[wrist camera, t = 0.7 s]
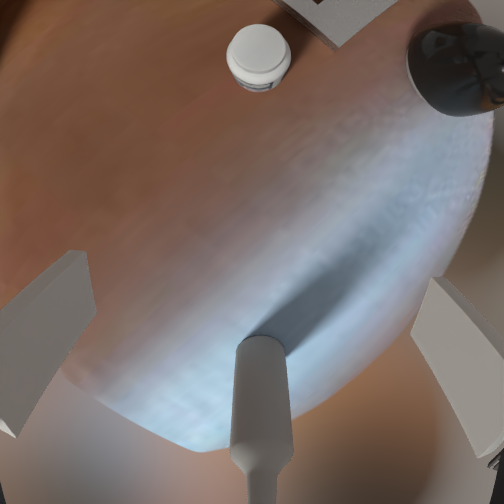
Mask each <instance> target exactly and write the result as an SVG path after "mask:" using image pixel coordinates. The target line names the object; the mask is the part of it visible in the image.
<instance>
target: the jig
mask: <svg viewBox="0 0 504 504" xmlns="http://www.w3.org/2000/svg"><path fill="white" fill-rule="evenodd" d="M272 1H273V2H274V3H276V4H277V5H278V6H280V7H281V8H282V9H284V10H285V11H286V12H288V13H289V14H290V15H291V16H293V17H294V18H295V19H296V20H298V21H299V22H300V23H301V24H303V25H304V26H305V27H306V28H307V29H309V30H310V31H311V32H312V33H313V34H314V35H316V36H317V37H318V38H319V39H320V40H321V41H322V42H323V43H325V44H326V45H327V46H328V47H329V48H330V49H331V50H332V51H333V52H335V51H336V50H337V49H338V48H339V47H341V46H342V45H343V44H344V43H345V42H346V41H348V40H349V39H350V38H351V37H352V36H354V35H355V34H356V33H357V32H359V31H360V30H361V29H362V28H363V27H365V26H366V25H367V24H368V23H370V22H371V21H372V20H373V19H375V18H376V17H377V16H379V15H380V14H381V13H382V12H384V11H385V10H386V9H388V8H389V7H390V6H392V5H393V4H394V3H396V2H397V1H398V0H324V1H322V2H321V3H320V4H318V5H317V4H316V3H315V2H314V1H312V0H272Z"/></svg>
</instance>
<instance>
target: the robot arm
mask: <svg viewBox="0 0 504 504" xmlns="http://www.w3.org/2000/svg"><path fill="white" fill-rule="evenodd" d="M96 314H97V311H96V306H95V301H94V296H93V291H92V286H91V280H90V275H89V269H88V262H87V256H86V251H78V250H69V251H68V252H67V253H65V254H64V255H63V256H62V257H60V258H59V259H58V260H57V261H55V262H54V263H53V264H52V265H51V266H49V267H48V268H47V269H46V270H45V271H43V272H42V273H41V274H40V275H39V276H38V277H36V278H35V279H34V280H33V281H32V282H31V283H30V284H28V285H27V286H26V287H25V288H24V289H23V290H22V291H21V292H20V293H18V294H17V295H16V296H15V297H14V298H13V299H12V300H11V301H10V302H9V303H8V304H7V305H6V306H5V307H3V308H2V309H1V310H0V429H1V430H2V431H4V432H6V433H8V434H10V435H11V436H13V437H15V438H17V437H18V435H19V434H20V432H21V430H22V428H23V426H24V424H25V423H26V421H27V419H28V417H29V416H30V414H31V412H32V411H33V409H34V407H35V406H36V404H37V402H38V400H39V399H40V397H41V396H42V394H43V392H44V391H45V389H46V388H47V386H48V384H49V383H50V381H51V380H52V378H53V376H54V375H55V373H56V372H57V370H58V369H59V367H60V366H61V364H62V363H63V361H64V360H65V358H66V357H67V355H68V354H69V352H70V351H71V349H72V348H73V346H74V345H75V343H76V342H77V340H78V339H79V338H80V336H81V335H82V333H83V332H84V330H85V329H86V328H87V326H88V325H89V323H90V322H91V321H92V319H93V318H94V316H95V315H96ZM410 335H411V336H412V338H413V340H414V341H415V342H416V344H417V346H418V348H419V349H420V351H421V353H422V354H423V356H424V357H425V359H426V361H427V363H428V365H429V366H430V368H431V370H432V371H433V373H434V375H435V377H436V378H437V380H438V382H439V384H440V386H441V387H442V389H443V391H444V393H445V395H446V397H447V398H448V400H449V402H450V404H451V406H452V408H453V410H454V411H455V413H456V415H457V417H458V419H459V421H460V423H461V425H462V427H463V429H464V431H465V433H466V435H467V437H468V440H469V442H470V444H471V446H472V448H473V450H474V452H475V454H476V457H477V458H480V457H482V456H484V455H487V454H489V453H491V452H493V451H494V450H495V449H496V448H497V447H498V446H499V445H500V443H502V442H503V440H504V340H503V338H502V337H501V336H500V335H499V334H498V332H497V331H495V329H494V328H493V327H492V326H491V324H490V323H489V322H488V321H487V320H486V319H485V318H484V317H483V316H482V315H481V314H480V313H479V311H478V310H477V309H476V308H475V307H474V306H473V305H472V304H471V303H470V302H469V301H468V300H467V299H466V298H465V297H464V296H463V295H462V294H461V293H460V292H459V291H458V290H457V289H456V288H455V287H454V286H453V285H452V284H451V283H450V282H449V281H448V280H447V279H446V278H442V277H431V279H430V282H429V285H428V288H427V291H426V294H425V296H424V299H423V302H422V305H421V307H420V310H419V313H418V315H417V318H416V320H415V323H414V326H413V328H412V330H411V333H410ZM497 460H500V461H499V463H497V464H496V465H495V466H494V468H493V469H494V470H497V476H496V480H495V485H494V489H493V493H492V497H491V501H490V504H504V448H503V449H502V451H501V452H499V454H498V455H496V456H495V458H493V459H492V460H491V461H490V462H489V464H488V468H490V467H491V466H492V465H493V464H494V463H495V462H496V461H497ZM0 504H6V502H5V499H4V495H3V491H2V487H1V483H0Z"/></svg>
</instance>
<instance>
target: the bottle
mask: <svg viewBox="0 0 504 504" xmlns="http://www.w3.org/2000/svg"><path fill="white" fill-rule="evenodd" d="M293 451H294V448H293V436H292V424H291V411H290V400H289V389H288V378H287V367H286V359H285V350H284V347H283V345H282V344H281V343H280V342H279V341H278V340H277V339H275V338H273V337H270V336H264V335H257V336H252V337H249V338H247V339H245V340H243V341H242V342H241V343H240V344H239V345H238V347H237V350H236V360H235V372H234V387H233V403H232V419H231V435H230V456H231V458H232V460H233V462H234V463H235V464H236V465H237V466H238V467H239V468H240V469H241V470H242V471H243V472H244V474H245V475H246V478H247V495H248V496H247V497H248V504H276V493H277V476H278V474H279V472H280V471H281V470H282V469H283V468H284V467H285V466H286V465H287V464H288V462H289V461H290V460H291V458H292V456H293Z"/></svg>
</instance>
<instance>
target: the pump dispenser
mask: <svg viewBox="0 0 504 504" xmlns="http://www.w3.org/2000/svg"><path fill="white" fill-rule="evenodd" d="M406 70H407V74H408V77H409V80H410V82H411V84H412V86H413V88H414V89H415V91H416V92H417V93H418V95H419V96H420V97H421V98H422V99H423V100H424V101H425V102H427V103H428V104H429V105H431V106H432V107H433V108H434V109H436V110H437V111H439V112H441V113H443V114H446V115H449V116H455V117H465V116H472V115H478V114H482V113H486V112H489V111H492V110H495V109H497V108H500V107H502V106H503V105H504V32H503V31H501V30H499V29H497V28H494V27H491V26H487V25H484V24H479V23H472V22H461V21H453V22H443V23H438V24H433V25H429V26H427V27H424V28H422V29H421V30H419V31H418V32H416V33H415V35H414V36H413V37H412V39H411V41H410V43H409V47H408V50H407V54H406Z"/></svg>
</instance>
